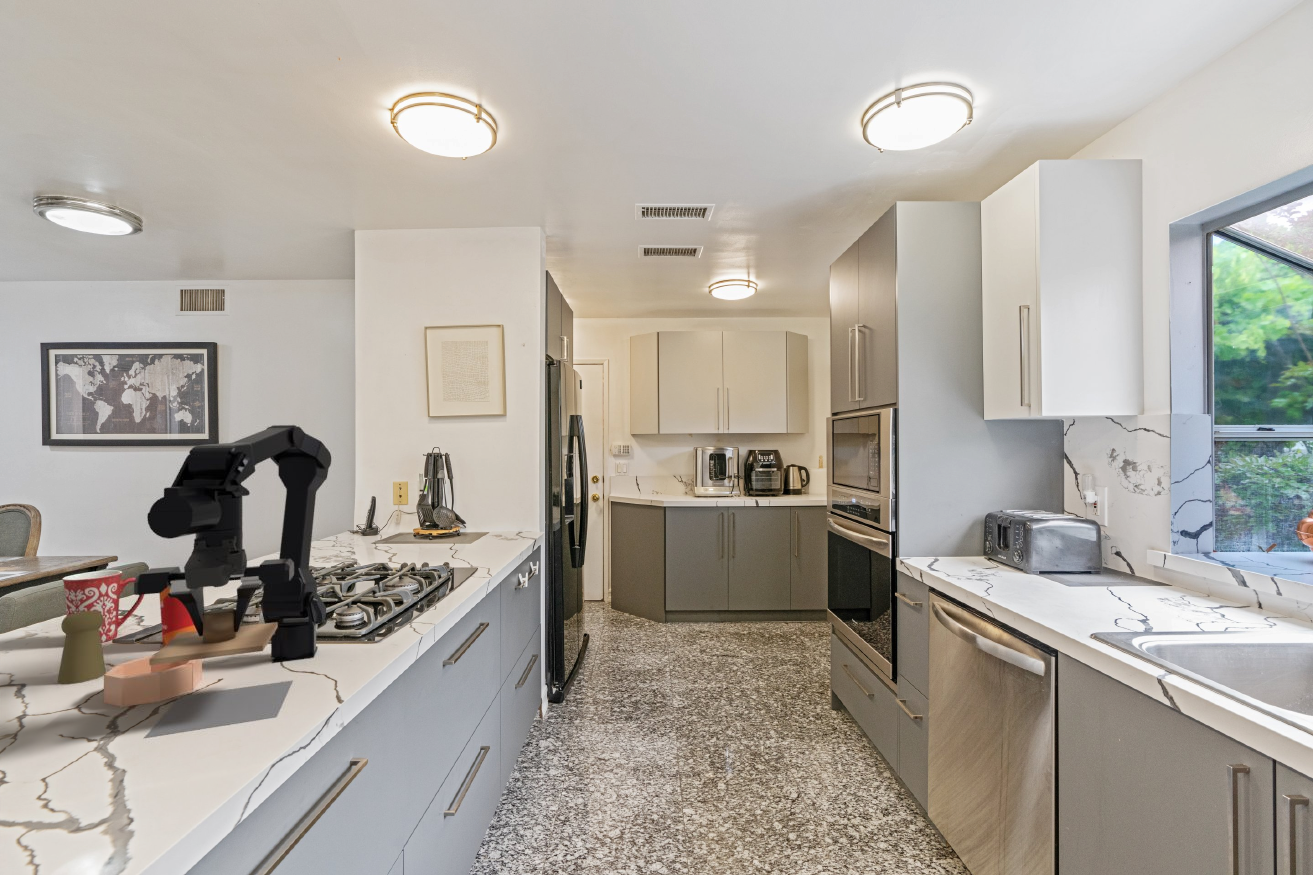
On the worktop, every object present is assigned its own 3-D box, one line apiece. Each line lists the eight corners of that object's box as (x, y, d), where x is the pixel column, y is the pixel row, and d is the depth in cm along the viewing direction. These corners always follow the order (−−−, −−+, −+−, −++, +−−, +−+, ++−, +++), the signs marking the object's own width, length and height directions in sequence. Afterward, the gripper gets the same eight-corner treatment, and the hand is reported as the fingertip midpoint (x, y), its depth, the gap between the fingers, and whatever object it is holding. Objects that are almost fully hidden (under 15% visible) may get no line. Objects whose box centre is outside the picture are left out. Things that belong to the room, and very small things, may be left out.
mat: (293, 682, 99) (293, 680, 99) (276, 719, 85) (276, 716, 85) (180, 698, 93) (180, 696, 93) (143, 740, 80) (143, 737, 80)
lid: (277, 626, 99) (277, 597, 99) (262, 650, 87) (262, 617, 87) (179, 638, 94) (179, 606, 94) (149, 665, 82) (149, 629, 82)
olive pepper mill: (76, 685, 99) (76, 617, 100) (47, 682, 101) (48, 616, 101) (115, 671, 105) (116, 608, 106) (88, 669, 106) (88, 607, 107)
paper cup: (174, 639, 123) (175, 570, 124) (214, 638, 124) (214, 569, 124) (145, 652, 116) (146, 578, 116) (188, 650, 116) (188, 577, 116)
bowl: (207, 675, 103) (207, 649, 103) (186, 699, 93) (186, 670, 93) (124, 686, 98) (125, 658, 99) (93, 713, 88) (93, 682, 88)
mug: (58, 651, 117) (59, 581, 117) (64, 640, 124) (65, 574, 124) (144, 637, 125) (144, 572, 125) (145, 628, 132) (145, 566, 132)
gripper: (118, 540, 79) (117, 660, 79) (283, 530, 87) (283, 640, 87) (148, 530, 90) (148, 636, 89) (294, 522, 97) (294, 620, 97)
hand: (219, 633), depth 90 cm, fingers closed on lid, 4 cm apart
